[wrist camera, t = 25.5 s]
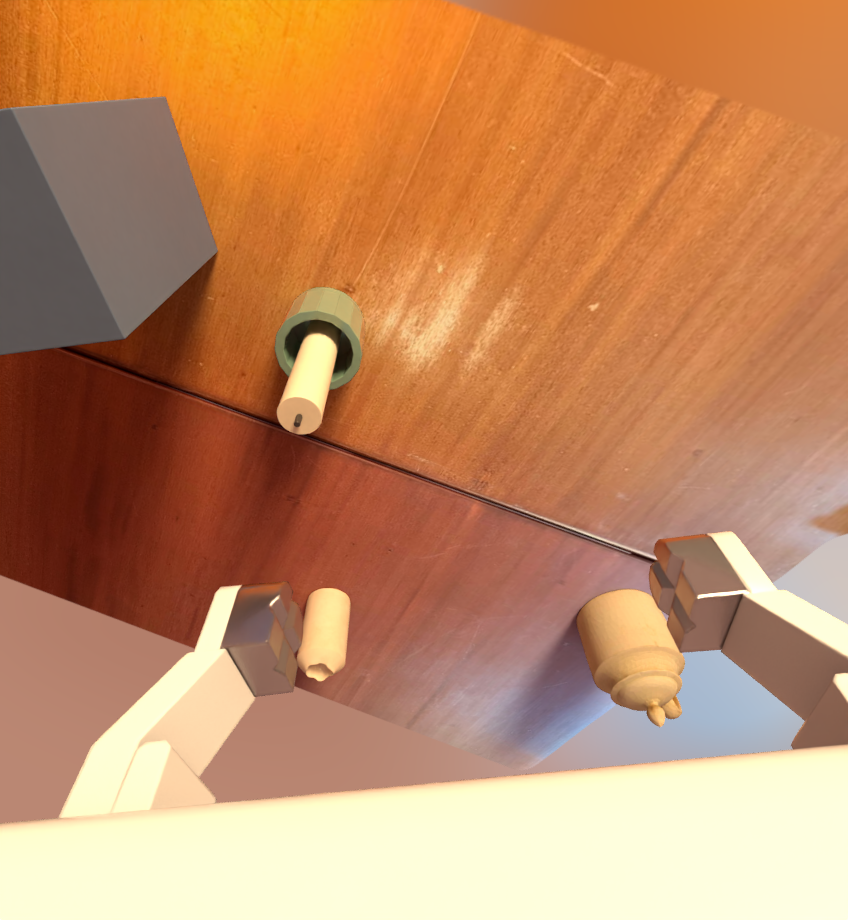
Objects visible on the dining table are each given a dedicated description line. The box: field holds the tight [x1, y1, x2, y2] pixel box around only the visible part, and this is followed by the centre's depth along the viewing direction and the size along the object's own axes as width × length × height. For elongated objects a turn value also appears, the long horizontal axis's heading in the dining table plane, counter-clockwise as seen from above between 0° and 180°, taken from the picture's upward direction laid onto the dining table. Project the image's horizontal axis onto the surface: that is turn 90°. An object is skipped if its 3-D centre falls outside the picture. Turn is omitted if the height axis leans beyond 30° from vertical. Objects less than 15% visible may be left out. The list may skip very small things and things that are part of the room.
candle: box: [297, 588, 350, 681], centre depth 62 cm, size 6×6×10 cm
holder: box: [275, 287, 365, 390], centre depth 42 cm, size 7×7×6 cm
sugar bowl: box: [577, 589, 685, 727], centre depth 64 cm, size 15×11×15 cm
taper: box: [277, 319, 342, 434], centre depth 38 cm, size 3×3×15 cm
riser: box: [0, 97, 218, 355], centre depth 31 cm, size 10×10×17 cm
